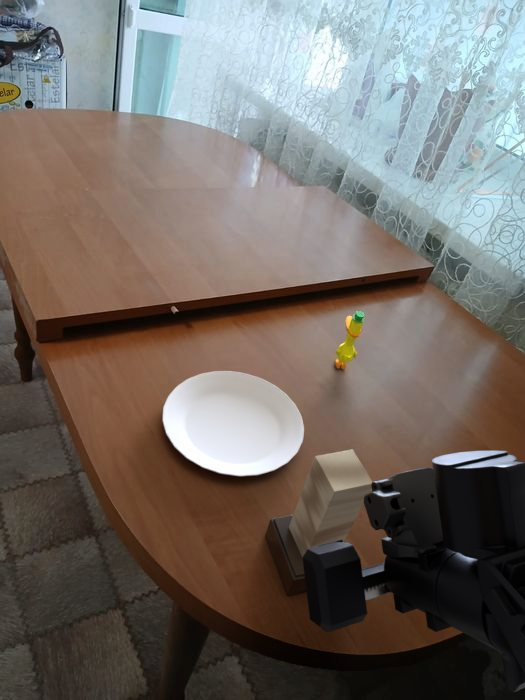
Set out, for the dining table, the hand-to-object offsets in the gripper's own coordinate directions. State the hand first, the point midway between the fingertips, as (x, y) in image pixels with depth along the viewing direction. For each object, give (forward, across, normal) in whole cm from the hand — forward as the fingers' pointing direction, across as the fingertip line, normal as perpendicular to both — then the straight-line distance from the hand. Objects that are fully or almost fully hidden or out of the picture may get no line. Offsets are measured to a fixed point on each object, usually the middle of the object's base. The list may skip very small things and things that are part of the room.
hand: (354, 543), depth 55 cm
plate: (+28, +2, -11) cm, 30 cm away
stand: (+12, 0, +4) cm, 13 cm away
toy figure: (+36, -22, -19) cm, 46 cm away
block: (+10, 0, +2) cm, 10 cm away
